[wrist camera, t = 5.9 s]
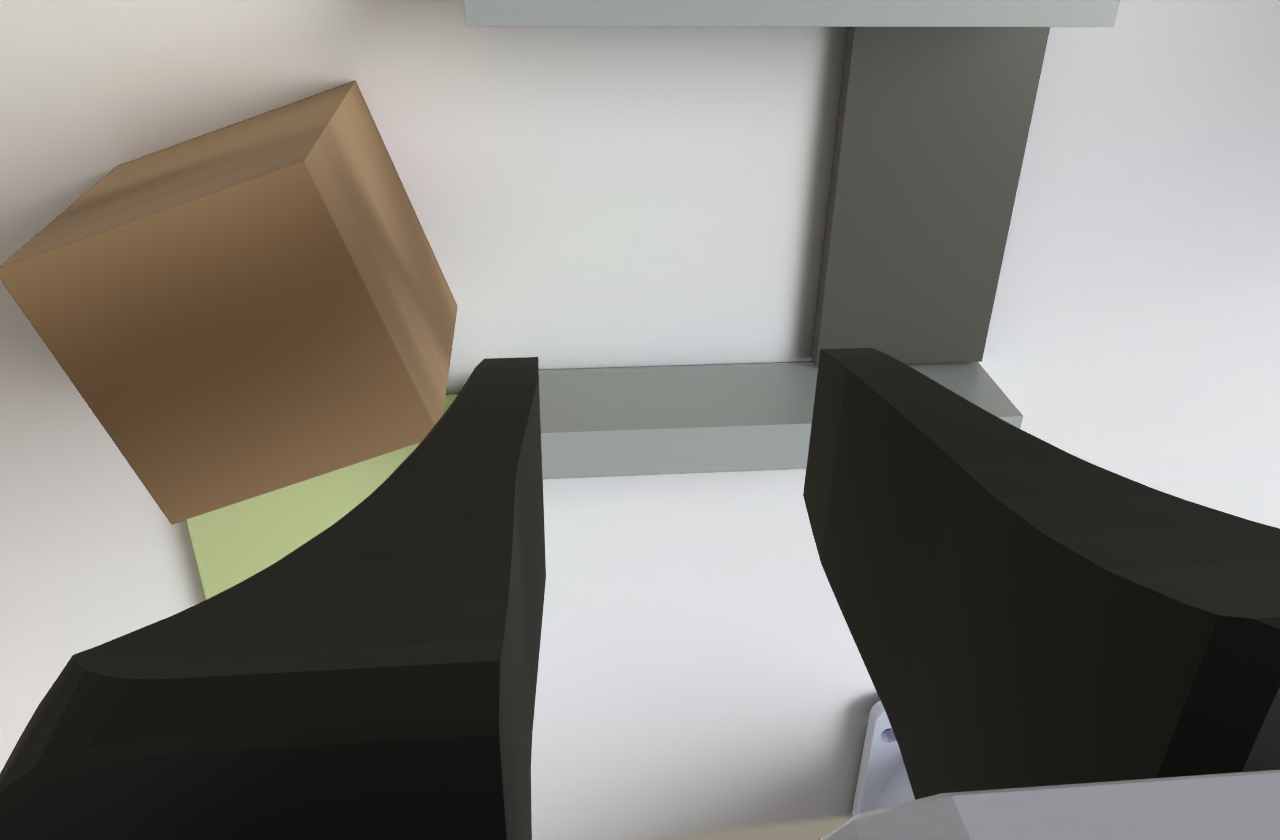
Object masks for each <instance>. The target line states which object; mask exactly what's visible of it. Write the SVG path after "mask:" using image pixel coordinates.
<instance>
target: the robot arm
mask: <svg viewBox="0 0 1280 840" xmlns="http://www.w3.org/2000/svg"><path fill="white" fill-rule="evenodd" d="M803 496H804V500H805V504H806V508H807V512H808V516H809V520H810V524H811V528H812V532H813V535H814V539H815V543H816V546H817V550H818V553H819V557H820V560H821V564H822V566H823V569H824V571H825V573H826V576H827V578H828V581H829V583H830V585H831V588H832V590H833V592H834V595H835V597H836V599H837V602H838V604H839V606H840V609H841V611H842V613H843V616H844V618H845V620H846V623H847V625H848V627H849V629H850V632H851V634H852V636H853V639H854V641H855V643H856V645H857V648H858V650H859V652H860V654H861V657H862V659H863V661H864V664H865V666H866V668H867V670H868V673H869V675H870V677H871V680H872V682H873V684H874V686H875V689H876V691H877V693H878V696H879V698H880V700H879V701H878V702H877V703H876V704H875V705H874V706H872V708H871V711H870V714H869V720H868V726H867V731H866V737H865V742H864V748H863V754H862V759H861V765H860V771H859V776H858V782H857V788H856V793H855V799H854V804H853V810H852V816H851V818H850V819H849V820H847V821H846V822H845V823H843V824H841V825H840V826H839V827H837V828H836V829H834V830H833V831H831V832H830V833H828V834H827V835H825V836H824V837H822V838H821V839H819V840H1280V529H1279V528H1275V527H1271V526H1268V525H1264V524H1260V523H1257V522H1253V521H1250V520H1246V519H1243V518H1240V517H1237V516H1234V515H1231V514H1227V513H1224V512H1221V511H1218V510H1215V509H1212V508H1208V507H1205V506H1202V505H1199V504H1196V503H1193V502H1189V501H1186V500H1183V499H1181V498H1178V497H1175V496H1172V495H1169V494H1166V493H1164V492H1161V491H1158V490H1155V489H1153V488H1150V487H1147V486H1145V485H1142V484H1140V483H1138V482H1135V481H1133V480H1130V479H1128V478H1125V477H1123V476H1120V475H1118V474H1115V473H1113V472H1110V471H1108V470H1105V469H1103V468H1100V467H1098V466H1096V465H1093V464H1091V463H1089V462H1087V461H1084V460H1082V459H1080V458H1078V457H1075V456H1073V455H1071V454H1069V453H1067V452H1065V451H1063V450H1061V449H1059V448H1057V447H1055V446H1053V445H1051V444H1049V443H1047V442H1045V441H1043V440H1041V439H1039V438H1037V437H1035V436H1033V435H1031V434H1029V433H1027V432H1025V431H1023V430H1021V429H1019V428H1017V427H1015V426H1013V425H1011V424H1010V423H1008V422H1006V421H1004V420H1002V419H1000V418H998V417H997V416H995V415H993V414H991V413H989V412H988V411H986V410H984V409H982V408H981V407H979V406H977V405H975V404H973V403H972V402H970V401H968V400H966V399H965V398H963V397H961V396H960V395H958V394H956V393H954V392H953V391H951V390H949V389H948V388H946V387H944V386H942V385H941V384H939V383H937V382H936V381H934V380H932V379H930V378H929V377H927V376H925V375H924V374H922V373H920V372H918V371H917V370H915V369H913V368H911V367H910V366H908V365H906V364H904V363H902V362H901V361H899V360H897V359H895V358H893V357H891V356H889V355H887V354H885V353H883V352H881V351H878V350H876V349H873V348H844V349H820V356H819V365H818V373H817V382H816V390H815V399H814V408H813V416H812V425H811V434H810V442H809V451H808V459H807V468H806V477H805V485H804V494H803ZM545 579H546V569H545V537H544V506H543V478H542V451H541V423H540V396H539V368H538V357H529V358H494V359H484V360H483V361H482V362H481V363H480V364H479V365H478V366H477V367H476V368H475V369H474V371H473V372H472V374H471V376H470V377H469V379H468V380H467V382H466V384H465V385H464V387H463V388H462V390H461V391H460V393H459V394H458V395H457V397H456V398H455V400H454V401H453V402H452V404H451V405H450V407H449V408H448V409H447V411H446V412H445V413H444V414H443V416H442V417H441V418H440V419H439V421H438V422H437V423H436V424H435V426H434V427H433V428H432V429H431V431H430V432H429V433H428V434H427V436H426V437H425V438H424V439H423V441H422V442H421V443H420V444H419V445H418V446H417V447H416V449H415V450H414V451H413V452H412V453H411V454H410V455H409V456H408V457H407V458H406V459H405V460H404V461H403V462H402V463H401V464H400V465H399V467H398V468H397V469H396V470H395V471H394V472H393V473H392V474H391V475H390V476H389V477H388V478H387V479H386V480H385V481H384V482H383V483H382V484H381V485H380V486H379V487H378V488H377V489H376V490H375V491H374V492H373V493H371V494H370V495H369V496H368V497H367V498H366V499H365V500H363V501H362V502H361V503H360V504H358V505H357V506H356V507H355V508H354V509H352V510H351V511H350V512H349V513H347V514H346V515H345V516H344V517H342V518H341V519H340V520H338V521H337V522H336V523H334V524H333V525H332V526H330V527H329V528H327V529H326V530H324V531H323V532H321V533H320V534H318V535H317V536H315V537H314V538H312V539H311V540H309V541H308V542H306V543H305V544H303V545H301V546H300V547H298V548H297V549H295V550H294V551H292V552H291V553H289V554H288V555H286V556H285V557H283V558H282V559H280V560H279V561H277V562H276V563H274V564H272V565H271V566H269V567H267V568H266V569H264V570H262V571H260V572H258V573H257V574H255V575H253V576H251V577H249V578H248V579H246V580H244V581H242V582H240V583H239V584H237V585H235V586H233V587H231V588H229V589H227V590H225V591H223V592H221V593H219V594H217V595H215V596H213V597H211V598H209V599H207V600H205V601H203V602H201V603H199V604H197V605H195V606H193V607H190V608H188V609H186V610H184V611H182V612H180V613H177V614H175V615H173V616H171V617H168V618H166V619H163V620H161V621H158V622H156V623H153V624H151V625H149V626H146V627H144V628H141V629H139V630H136V631H134V632H131V633H129V634H126V635H124V636H121V637H119V638H117V639H114V640H112V641H109V642H107V643H104V644H102V645H99V646H97V647H94V648H91V649H89V650H86V651H83V652H80V653H78V654H75V655H73V656H72V657H71V659H70V660H69V662H68V663H67V665H66V666H65V668H64V669H63V671H62V672H61V674H60V675H59V677H58V678H57V680H56V681H55V683H54V684H53V685H52V687H51V688H50V690H49V691H48V693H47V694H46V696H45V697H44V698H43V700H42V701H41V703H40V704H39V706H38V707H37V709H36V711H35V713H34V714H33V716H32V718H31V720H30V721H29V723H28V725H27V726H26V728H25V730H24V732H23V733H22V735H21V737H20V738H19V740H18V742H17V744H16V746H15V748H14V750H13V751H12V753H11V755H10V757H9V759H8V761H7V762H6V764H5V766H4V768H3V770H2V772H1V773H0V840H532V830H531V748H532V729H533V717H534V706H535V695H536V683H537V672H538V661H539V649H540V638H541V626H542V615H543V603H544V591H545ZM889 728H891V729H890V730H886V729H889ZM884 730H886V731H884Z"/></svg>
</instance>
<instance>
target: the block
mask: <svg viewBox="0 0 1280 840" xmlns="http://www.w3.org/2000/svg"><path fill="white" fill-rule="evenodd" d="M0 279H1V281H2V282H3V284H4V285H5V287H6V288H7V289H8V291H9V292H10V294H11V295H12V297H13V298H14V299H15V301H16V302H17V304H18V305H19V307H20V308H21V309H22V311H23V312H24V314H25V315H26V317H27V318H28V319H29V321H30V322H31V324H32V325H33V327H34V328H35V330H36V331H37V332H38V334H39V335H40V337H41V338H42V340H43V341H44V342H45V344H46V345H47V347H48V348H49V350H50V351H51V352H52V354H53V355H54V357H55V358H56V360H57V361H58V362H59V364H60V365H61V367H62V368H63V370H64V371H65V373H66V374H67V375H68V377H69V378H70V380H71V381H72V383H73V384H74V385H75V387H76V388H77V390H78V391H79V393H80V394H81V395H82V397H83V398H84V400H85V401H86V403H87V404H88V406H89V407H90V408H91V410H92V411H93V413H94V414H95V416H96V417H97V418H98V420H99V421H100V423H101V424H102V426H103V427H104V428H105V430H106V431H107V433H108V434H109V436H110V437H111V438H112V440H113V441H114V443H115V444H116V446H117V447H118V449H119V450H120V451H121V453H122V454H123V456H124V457H125V459H126V460H127V461H128V463H129V464H130V466H131V467H132V469H133V470H134V471H135V473H136V474H137V476H138V477H139V479H140V480H141V481H142V483H143V484H144V486H145V487H146V489H147V490H148V492H149V493H150V494H151V496H152V497H153V499H154V500H155V502H156V503H157V504H158V506H159V507H160V509H161V510H162V512H163V513H164V514H165V516H166V517H167V519H168V520H169V522H170V523H171V524H175V523H178V522H181V521H184V520H187V519H190V518H193V517H196V516H199V515H202V514H205V513H208V512H211V511H214V510H217V509H220V508H223V507H226V506H229V505H232V504H235V503H238V502H241V501H244V500H247V499H250V498H253V497H256V496H259V495H262V494H266V493H269V492H272V491H275V490H278V489H281V488H284V487H287V486H290V485H293V484H296V483H299V482H302V481H305V480H308V479H311V478H314V477H317V476H320V475H323V474H326V473H329V472H332V471H335V470H338V469H341V468H344V467H347V466H350V465H353V464H356V463H360V462H363V461H366V460H369V459H372V458H375V457H378V456H381V455H384V454H387V453H390V452H393V451H396V450H399V449H402V448H405V447H408V446H411V445H414V444H417V443H420V442H422V441H423V439H424V438H425V437H426V436H427V434H428V433H429V432H430V431H431V429H432V428H433V427H434V426H435V424H436V423H437V422H438V421H439V419H440V418H441V417H442V416H443V411H444V403H445V396H446V388H447V381H448V373H449V366H450V358H451V351H452V343H453V335H454V328H455V320H456V313H457V304H456V302H455V300H454V297H453V295H452V293H451V291H450V288H449V286H448V284H447V282H446V280H445V277H444V275H443V273H442V271H441V269H440V266H439V264H438V262H437V260H436V257H435V255H434V253H433V251H432V249H431V246H430V244H429V242H428V240H427V238H426V235H425V233H424V231H423V229H422V226H421V224H420V222H419V220H418V218H417V215H416V213H415V211H414V209H413V207H412V204H411V202H410V200H409V198H408V195H407V193H406V191H405V189H404V187H403V184H402V182H401V180H400V178H399V176H398V173H397V171H396V169H395V167H394V164H393V162H392V160H391V158H390V156H389V153H388V151H387V149H386V147H385V145H384V142H383V140H382V138H381V136H380V133H379V131H378V129H377V127H376V125H375V122H374V120H373V118H372V116H371V114H370V111H369V109H368V107H367V105H366V102H365V100H364V98H363V96H362V94H361V91H360V89H359V87H358V85H357V83H356V81H353V82H350V83H348V84H345V85H342V86H339V87H336V88H334V89H331V90H328V91H325V92H322V93H320V94H317V95H314V96H311V97H308V98H306V99H303V100H300V101H297V102H294V103H292V104H289V105H286V106H283V107H280V108H278V109H275V110H272V111H269V112H266V113H264V114H261V115H258V116H255V117H252V118H250V119H247V120H244V121H241V122H239V123H236V124H233V125H230V126H227V127H225V128H222V129H219V130H216V131H213V132H211V133H208V134H205V135H202V136H199V137H197V138H194V139H191V140H188V141H185V142H183V143H180V144H177V145H174V146H171V147H169V148H166V149H163V150H160V151H157V152H155V153H152V154H149V155H146V156H143V157H141V158H138V159H135V160H132V161H129V162H127V163H124V164H121V165H118V166H117V167H116V168H114V169H113V170H112V171H111V172H110V173H109V174H107V175H106V176H105V177H104V178H103V179H102V180H100V181H99V182H98V183H97V184H96V185H95V186H93V187H92V188H91V189H90V190H89V191H88V192H86V193H85V194H84V195H83V196H82V197H81V198H79V199H78V200H77V201H76V202H75V203H73V204H72V205H71V206H70V207H69V208H68V209H66V210H65V211H64V212H63V213H62V214H61V215H59V216H58V217H57V218H56V219H55V220H54V221H52V222H51V223H50V224H49V225H48V226H47V227H45V228H44V229H43V230H42V231H41V232H39V233H38V234H37V235H36V236H35V237H34V238H32V239H31V240H30V241H29V242H28V243H27V244H25V245H24V246H23V247H22V248H21V249H20V250H18V251H17V252H16V253H15V254H14V255H13V256H11V257H10V258H9V259H8V260H7V261H6V262H4V263H3V264H2V265H1V266H0Z"/></svg>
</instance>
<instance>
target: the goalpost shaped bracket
mask: <svg viewBox="0 0 1280 840" xmlns="http://www.w3.org/2000/svg"><path fill="white" fill-rule="evenodd" d="M1119 3H1120V0H464V8H465V23H466V26H761V27H848V33H847V42H846V51H845V60H844V69H843V78H842V87H841V96H840V105H839V114H838V123H837V132H836V141H835V150H834V158H833V167H832V176H831V185H830V194H829V203H828V212H827V221H826V230H825V239H824V248H823V257H822V266H821V275H820V284H819V293H818V302H817V311H816V320H815V329H814V338H813V347H812V356H811V358H812V360H813V362H790V363H757V364H723V365H689V366H655V367H622V368H588V369H554V370H539V396H540V423H541V451H542V478H543V479H559V478H584V477H609V476H635V475H660V474H685V473H711V472H736V471H761V470H787V469H806V468H807V459H808V451H809V442H810V434H811V425H812V416H813V408H814V399H815V390H816V382H817V373H818V365H819V356H820V349H844V348H873V349H876V350H878V351H881V352H883V353H885V354H887V355H889V356H891V357H893V358H895V359H897V360H899V361H901V362H902V363H904V364H906V365H908V366H910V367H911V368H913V369H915V370H917V371H918V372H920V373H922V374H924V375H925V376H927V377H929V378H930V379H932V380H934V381H936V382H937V383H939V384H941V385H942V386H944V387H946V388H948V389H949V390H951V391H953V392H954V393H956V394H958V395H960V396H961V397H963V398H965V399H966V400H968V401H970V402H972V403H973V404H975V405H977V406H979V407H981V408H982V409H984V410H986V411H988V412H989V413H991V414H993V415H995V416H997V417H998V418H1000V419H1002V420H1004V421H1006V422H1008V423H1010V424H1011V425H1013V426H1015V427H1017V428H1019V429H1020V427H1021V422H1022V418H1023V416H1022V414H1021V413H1020V412H1019V411H1018V410H1017V408H1016V407H1015V406H1014V405H1013V404H1012V402H1011V401H1010V400H1009V399H1008V398H1007V396H1006V395H1005V394H1004V393H1003V392H1002V390H1001V389H1000V388H999V387H998V386H997V384H996V383H995V382H994V381H993V380H992V378H991V377H990V376H989V375H988V374H987V372H986V371H985V370H984V369H983V368H982V366H981V365H980V364H979V363H978V361H982V358H983V353H984V348H985V343H986V338H987V333H988V328H989V323H990V318H991V314H992V309H993V304H994V299H995V294H996V289H997V284H998V279H999V274H1000V269H1001V265H1002V260H1003V255H1004V250H1005V245H1006V240H1007V235H1008V230H1009V225H1010V220H1011V216H1012V211H1013V206H1014V201H1015V196H1016V191H1017V186H1018V181H1019V176H1020V172H1021V167H1022V162H1023V157H1024V152H1025V147H1026V142H1027V137H1028V132H1029V127H1030V123H1031V118H1032V113H1033V108H1034V103H1035V98H1036V93H1037V88H1038V83H1039V79H1040V74H1041V69H1042V64H1043V59H1044V54H1045V49H1046V44H1047V39H1048V34H1049V30H1050V27H1114V24H1115V20H1116V16H1117V11H1118V7H1119Z"/></svg>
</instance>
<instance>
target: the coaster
mask: <svg viewBox="0 0 1280 840" xmlns="http://www.w3.org/2000/svg"><path fill="white" fill-rule="evenodd" d="M457 395H458V394H450V395H446V396H445V403H444V411H443V414H444V413H445V412H446V411H447V409H448V408H449V407H450V405H451V404H452V402H453V401H454V400H455V398H456V397H457ZM420 443H421V442H420ZM420 443H417V444H414V445H411V446H408V447H405V448H402V449H399V450H396V451H393V452H390V453H387V454H384V455H381V456H378V457H375V458H372V459H369V460H366V461H363V462H360V463H356V464H353V465H350V466H347V467H344V468H341V469H338V470H335V471H332V472H329V473H326V474H323V475H320V476H317V477H314V478H311V479H308V480H305V481H302V482H299V483H296V484H293V485H290V486H287V487H284V488H281V489H278V490H275V491H272V492H269V493H266V494H262V495H259V496H256V497H253V498H250V499H247V500H244V501H241V502H238V503H235V504H232V505H229V506H226V507H223V508H220V509H217V510H214V511H211V512H208V513H205V514H202V515H199V516H196V517H193V518H190V519H187V520H186V521H187V525H188V529H189V533H190V537H191V541H192V545H193V549H194V553H195V557H196V561H197V565H198V569H199V573H200V577H201V581H202V585H203V589H204V593H205V597H206V600H207V599H209V598H211V597H213V596H215V595H217V594H219V593H221V592H223V591H225V590H227V589H229V588H231V587H233V586H235V585H237V584H239V583H240V582H242V581H244V580H246V579H248V578H249V577H251V576H253V575H255V574H257V573H258V572H260V571H262V570H264V569H266V568H267V567H269V566H271V565H272V564H274V563H276V562H277V561H279V560H280V559H282V558H283V557H285V556H286V555H288V554H289V553H291V552H292V551H294V550H295V549H297V548H298V547H300V546H301V545H303V544H305V543H306V542H308V541H309V540H311V539H312V538H314V537H315V536H317V535H318V534H320V533H321V532H323V531H324V530H326V529H327V528H329V527H330V526H332V525H333V524H334V523H336V522H337V521H338V520H340V519H341V518H342V517H344V516H345V515H346V514H347V513H349V512H350V511H351V510H352V509H354V508H355V507H356V506H357V505H358V504H360V503H361V502H362V501H363V500H365V499H366V498H367V497H368V496H369V495H370V494H371V493H373V492H374V491H375V490H376V489H377V488H378V487H379V486H380V485H381V484H382V483H383V482H384V481H385V480H386V479H387V478H388V477H389V476H390V475H391V474H392V473H393V472H394V471H395V470H396V469H397V468H398V467H399V465H400V464H401V463H402V462H403V461H404V460H405V459H406V458H407V457H408V456H409V455H410V454H411V453H412V452H413V451H414V450H415V449H416V447H417V446H418V445H419V444H420Z"/></svg>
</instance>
